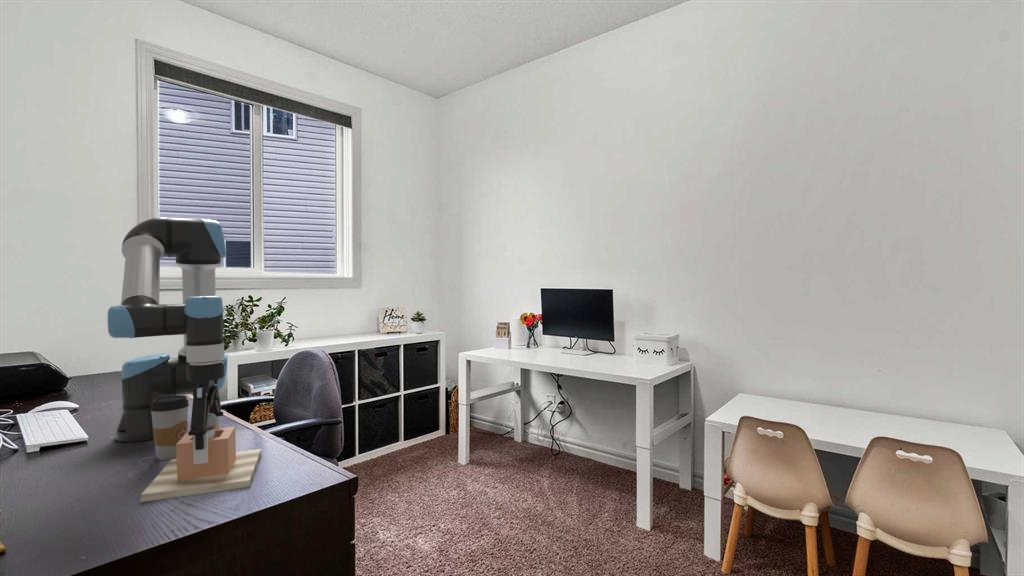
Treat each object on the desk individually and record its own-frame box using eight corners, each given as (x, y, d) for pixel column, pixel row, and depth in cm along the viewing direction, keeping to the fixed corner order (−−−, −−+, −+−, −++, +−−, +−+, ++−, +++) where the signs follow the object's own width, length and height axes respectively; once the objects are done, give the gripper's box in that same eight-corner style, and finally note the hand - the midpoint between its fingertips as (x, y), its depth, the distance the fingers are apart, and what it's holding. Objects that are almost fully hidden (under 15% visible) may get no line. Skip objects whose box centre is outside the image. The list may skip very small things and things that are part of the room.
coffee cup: (170, 462, 125) (169, 403, 125) (143, 460, 127) (141, 402, 127) (197, 451, 134) (196, 395, 133) (171, 449, 135) (170, 394, 135)
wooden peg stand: (171, 465, 124) (169, 406, 123) (261, 454, 131) (260, 398, 130) (140, 502, 103) (139, 431, 103) (249, 486, 110) (248, 420, 110)
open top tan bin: (188, 464, 120) (187, 431, 120) (235, 458, 123) (235, 426, 123) (177, 480, 110) (176, 444, 110) (228, 473, 114) (227, 438, 114)
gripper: (199, 355, 127) (201, 439, 127) (171, 372, 103) (173, 474, 104) (233, 354, 129) (234, 435, 130) (212, 369, 106) (215, 469, 106)
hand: (207, 453), depth 117 cm, fingers open, 13 cm apart
